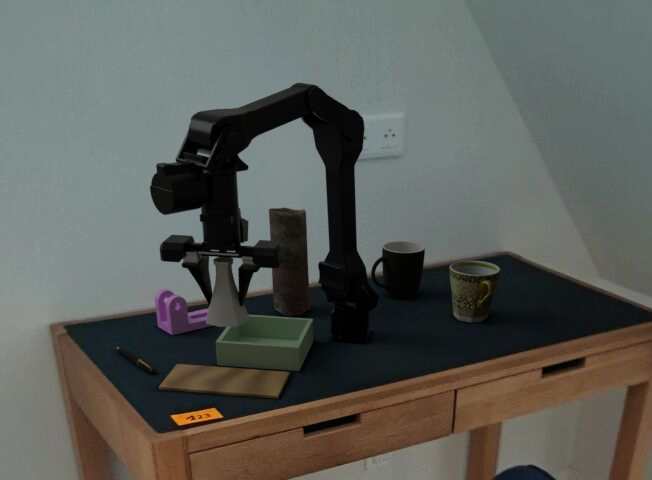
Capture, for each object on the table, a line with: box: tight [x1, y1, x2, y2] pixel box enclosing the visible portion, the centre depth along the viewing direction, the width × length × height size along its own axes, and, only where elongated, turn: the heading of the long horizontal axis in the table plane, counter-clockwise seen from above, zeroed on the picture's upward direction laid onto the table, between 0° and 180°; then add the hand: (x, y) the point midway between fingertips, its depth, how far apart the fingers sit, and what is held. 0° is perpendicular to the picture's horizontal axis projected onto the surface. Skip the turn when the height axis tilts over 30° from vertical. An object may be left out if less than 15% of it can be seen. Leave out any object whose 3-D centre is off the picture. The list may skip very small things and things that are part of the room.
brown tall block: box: [268, 207, 311, 317], centre depth 170 cm, size 8×7×20 cm
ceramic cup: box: [449, 260, 501, 324], centre depth 171 cm, size 13×10×10 cm
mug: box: [370, 240, 426, 300], centre depth 183 cm, size 12×9×10 cm
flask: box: [206, 257, 249, 328], centre depth 138 cm, size 7×7×10 cm
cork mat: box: [158, 363, 291, 399], centre depth 145 cm, size 20×10×1 cm, turn 83°
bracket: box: [154, 288, 215, 336], centre depth 166 cm, size 13×6×7 cm, turn 130°
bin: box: [215, 314, 314, 372], centre depth 155 cm, size 15×15×4 cm
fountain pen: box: [116, 346, 155, 374], centre depth 151 cm, size 14×1×2 cm, turn 40°
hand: (226, 304), depth 140 cm, fingers closed on flask, 5 cm apart
